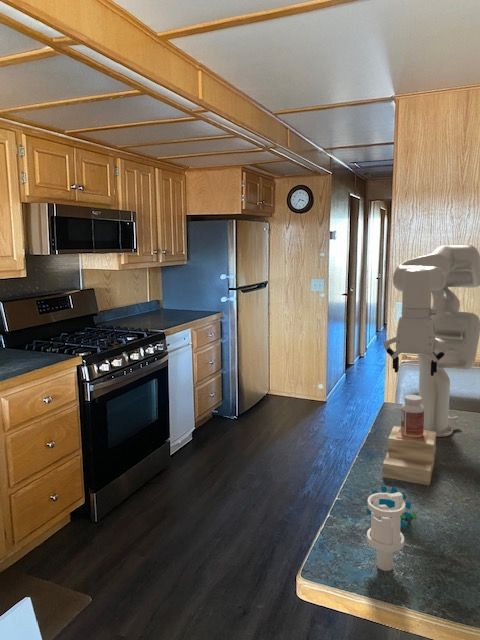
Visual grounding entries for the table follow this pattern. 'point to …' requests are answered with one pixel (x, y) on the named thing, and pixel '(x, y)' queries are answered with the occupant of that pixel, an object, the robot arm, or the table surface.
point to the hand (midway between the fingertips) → (414, 373)
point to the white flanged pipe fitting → (385, 528)
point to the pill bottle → (412, 416)
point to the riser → (410, 457)
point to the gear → (390, 504)
